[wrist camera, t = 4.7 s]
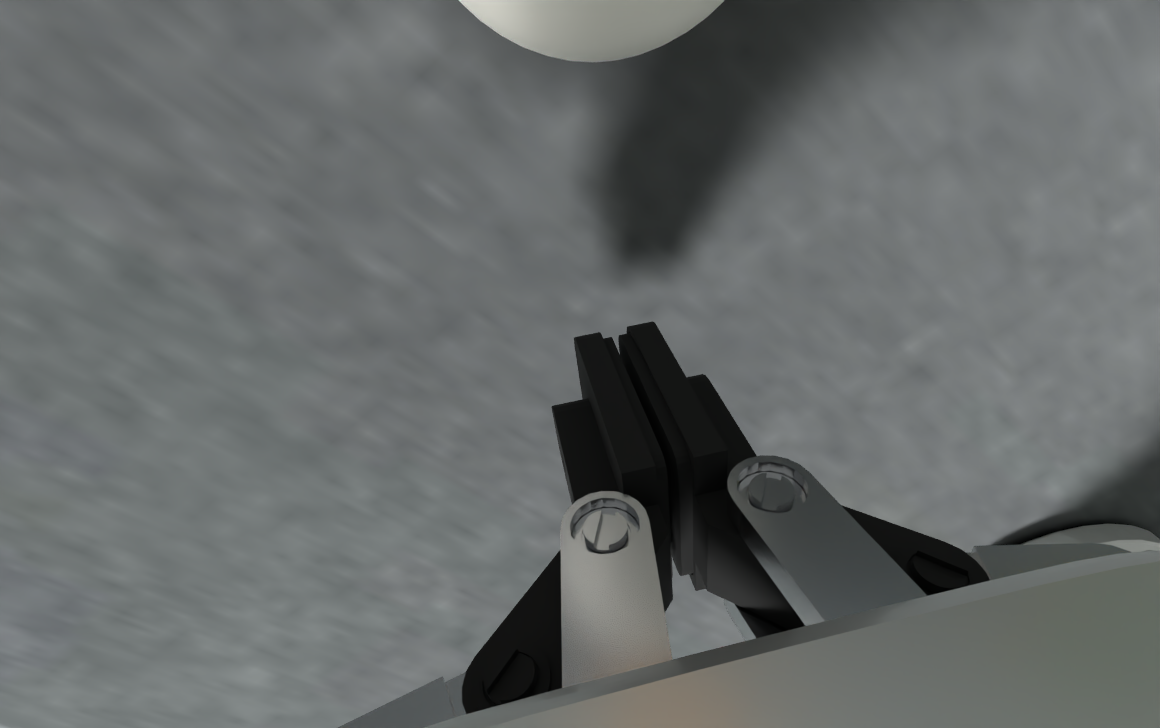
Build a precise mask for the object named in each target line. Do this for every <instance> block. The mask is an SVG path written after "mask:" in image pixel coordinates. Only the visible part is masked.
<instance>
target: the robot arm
mask: <svg viewBox="0 0 1160 728" xmlns="http://www.w3.org/2000/svg"><path fill="white" fill-rule="evenodd" d="M574 344H575V351H576V358H577V365H578V371H579V378H580V385H581V391H582V398H583V400H578V401H574V402H569V403H564V404H559V405H555V406H552V412H553V418H554V423H555V428H556V433H557V439H558V444H559V449H560V453H561V458H562V463H563V467H564V472H565V476H566V480H567V485H568V489H569V493H570V498H571V502H572V505H571V506H570V507H569V508H568V510H567V511H566V513H565V515H564V516H563V518H562V523H561V529H560V541H561V550H560V551H559V552H558V553H557V555H556V556H555V557H554V558H553V560H552V561H551V562H550V563H549V565H548V566H547V567H546V568H545V570H544V571H543V572H542V573H541V575H540V576H539V577H538V578H537V580H536V581H535V582H534V583H533V585H532V586H531V587H530V588H529V590H528V591H527V592H526V593H525V595H524V596H523V597H522V598H521V600H520V601H519V602H518V604H517V605H516V606H515V607H514V609H513V610H512V611H511V612H510V614H509V615H508V616H507V617H506V619H505V620H504V621H503V622H502V624H501V625H500V626H499V627H498V629H497V630H496V631H495V632H494V634H493V635H492V636H491V637H490V639H489V640H488V641H487V642H486V644H485V645H484V646H483V647H482V649H481V650H480V651H479V652H478V654H477V655H476V656H475V658H474V659H473V661H472V663H471V664H470V666H469V667H468V669H467V671H466V672H465V673H463V674H461V675H459V676H457V677H455V678H453V679H451V680H449V681H447V682H445V680H444V678H443V677H441V678H439V679H436V680H434V681H432V682H430V683H428V684H426V685H424V686H422V687H420V688H418V689H416V690H414V691H412V692H410V693H408V694H406V695H404V696H402V697H400V698H398V699H396V700H394V701H391V702H389V703H387V704H385V705H383V706H381V707H379V708H377V709H375V710H373V711H371V712H369V713H367V714H365V715H363V716H361V717H359V718H357V719H355V720H353V721H351V722H349V723H346V724H344V725H342V726H340V727H338V728H1160V539H1159V538H1158V537H1156V536H1155V535H1154V534H1153V533H1151V532H1150V531H1148V530H1145V529H1142V528H1139V527H1136V526H1133V525H1121V524H1098V525H1087V526H1080V527H1075V528H1071V529H1067V530H1062V531H1058V532H1054V533H1051V534H1048V535H1045V536H1042V537H1039V538H1036V539H1033V540H1030V541H1027V542H1025V543H1023V544H1020V545H991V546H974V547H973V549H972V552H971V553H965V552H964V551H963V550H961V549H959V548H957V547H955V546H953V545H950V544H948V543H946V542H944V541H941V540H938V539H935V538H932V537H929V536H927V535H924V534H921V533H918V532H915V531H912V530H910V529H907V528H904V527H901V526H898V525H895V524H893V523H890V522H887V521H884V520H881V519H879V518H876V517H873V516H870V515H867V514H864V513H862V512H859V511H856V510H853V509H850V508H847V507H845V506H842V505H840V504H839V503H838V502H837V501H836V499H835V498H834V497H833V496H832V495H831V494H830V493H829V492H828V491H827V490H826V489H825V488H824V487H823V486H822V485H821V484H820V483H819V482H818V481H817V480H816V479H815V477H814V476H813V475H812V474H811V473H810V472H809V471H807V470H806V469H805V468H804V467H802V466H801V465H800V464H798V463H796V462H793V461H791V460H789V459H787V458H782V457H778V456H756V454H755V452H754V451H753V449H752V448H751V446H750V444H749V443H748V441H747V440H746V438H745V436H744V435H743V433H742V432H741V430H740V428H739V427H738V425H737V424H736V422H735V420H734V419H733V417H732V416H731V414H730V412H729V411H728V409H727V408H726V406H725V404H724V403H723V401H722V400H721V398H720V396H719V395H718V393H717V392H716V390H715V388H714V387H713V385H712V384H711V382H710V380H709V379H708V378H707V377H706V375H703V374H701V375H697V376H692V377H687V378H686V376H685V374H684V373H683V371H682V369H681V367H680V366H679V364H678V362H677V360H676V359H675V357H674V355H673V353H672V352H671V350H670V348H669V347H668V345H667V343H666V341H665V340H664V338H663V336H662V334H661V333H660V331H659V329H658V327H657V326H656V324H655V323H654V322H648V323H643V324H638V325H633V326H628V327H627V334H624V335H619V351H620V355H619V352H618V350H617V348H616V346H615V343H614V341H613V339H612V337H609V338H604V339H603V337H602V335H601V333H600V332H599V333H594V334H589V335H584V336H579V337H574ZM672 558H673V560H674V563H675V565H676V568H677V571H678V573H679V575H680V576H683V575H687V574H689V575H690V578H691V580H692V583H693V585H694V588H695V590H696V591H697V590H701V589H707V591H709V592H711V593H713V594H715V595H717V596H719V597H721V598H724V605H725V607H726V609H727V612H728V614H729V616H730V617H731V619H732V621H733V622H734V624H735V625H736V627H737V629H738V630H739V632H740V633H741V635H742V637H743V638H744V640H745V641H744V642H740V643H736V644H733V645H729V646H725V647H721V648H717V649H713V650H709V651H705V652H701V653H697V654H693V655H689V656H685V657H681V658H677V659H673V660H672V655H671V649H670V643H669V636H668V630H667V624H666V618H665V611H666V610H667V608H668V606H669V605H670V603H671V601H672V600H673V594H672V575H673V574H672Z"/></svg>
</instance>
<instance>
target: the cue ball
mask: <svg viewBox="0 0 1160 728" xmlns="http://www.w3.org/2000/svg"><path fill="white" fill-rule="evenodd" d="M459 1H460V2H461V3H462V4H463V5H464V6H465V7H466V8H467V9H468V10H469V11H470V12H471V13H472V14H474V15H475V16H476V17H477V18H478V19H479V20H480V21H481V22H483V23H484V24H486V25H487V26H488V27H490V28H491V29H493V30H494V31H495V32H497V33H498V34H500V35H501V36H503V37H505V38H507V39H508V40H510V41H512V42H514V43H516V44H518V45H520V46H521V47H524V48H526V49H529V50H532V51H535V52H537V53H540V54H543V55H546V56H549V57H554V58H559V59H563V60H568V61H578V62H605V61H616V60H621V59H625V58H629V57H633V56H638V55H641V54H643V53H646V52H648V51H651V50H653V49H656V48H658V47H661V46H663V45H665V44H667V43H669V42H670V41H672V40H674V39H676V38H677V37H679V36H681V35H683V34H685V33H686V32H688V31H689V30H691V29H692V28H693V27H695V26H696V25H697V24H699V23H700V22H701V21H703V20H704V19H705V18H707V17H708V16H709V15H710V14H711V13H712V12H713V11H714V10H715V9H716V8H717V7H718V6H719V5H720V4H722V3H723V2H724V1H725V0H459Z"/></svg>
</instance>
